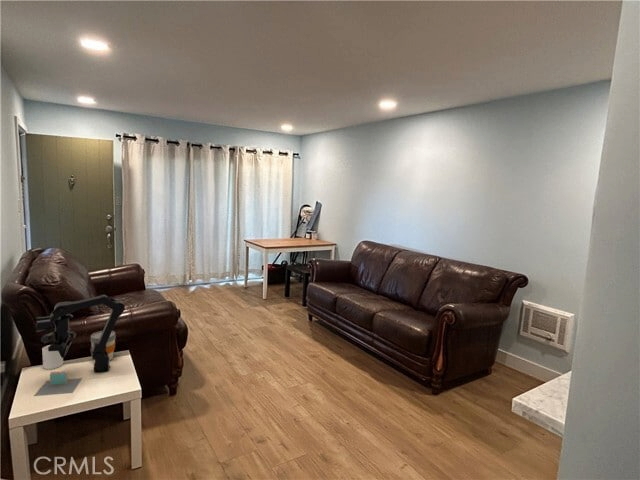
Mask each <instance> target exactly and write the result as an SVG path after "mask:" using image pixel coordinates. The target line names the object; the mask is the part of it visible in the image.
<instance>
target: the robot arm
mask: <svg viewBox="0 0 640 480" xmlns="http://www.w3.org/2000/svg"><path fill="white" fill-rule="evenodd" d="M98 305H99V306H100V305H104V306H106V307H108V308H109V315H108V319H107V321H106V322H105V325H104V328H103V330H102V331H103V332H102V334H101V336H100V338H99V340H98V341H97V343H94V342H93V346H92V348H91V347H90V349H89V350H90V354H91V359H93V360H94V363H93V371H94V372H93V373H94V374H98V373H107V372H109V370H110V368H112V367H111V366H110V361H109V356H108V353H107V352H106V344H107V341H108V339H109V337H110V334H111V332H112V331H114V327H115V325H116V323H117V321H118V319H119V318H120V317H121V315H122V314H123V313H124V311H125V310H126V307H125V304H124V302H123V300H121V299H114V298H112V297H109V296H108V295H106V294H101V295H97V296H93V297H89V298H85V299H81V300H76V301H60V302H57V303H56V304H55V305H54V308H53V309H54V310H53V311H52V312H51V313H50V314H49V316H38V317H36V325H35V327H36V332H43V331H50V330H52V329H53V328H54V331H53V332H49V333H46V334H44V335H43V336H42V337H41V338H40V342H41V343H43V344H47V343H49V342H52V343H51V344H49V345H50V346H49V347H48V351H59V354H60V356H61V358H63V359H64V358H65V356H66V355H67V353H68V350H69V348H70V347H71V344H72V342H73V339H75V338H76V336H77V332H76V331H74V330H72V331H71V327H70V320H71V319H74V315H72V313H74V312H75V311H79V310H82V309H87V308H92V307H94V306H98ZM71 337H72V338H73V339H70V338H71Z"/></svg>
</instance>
